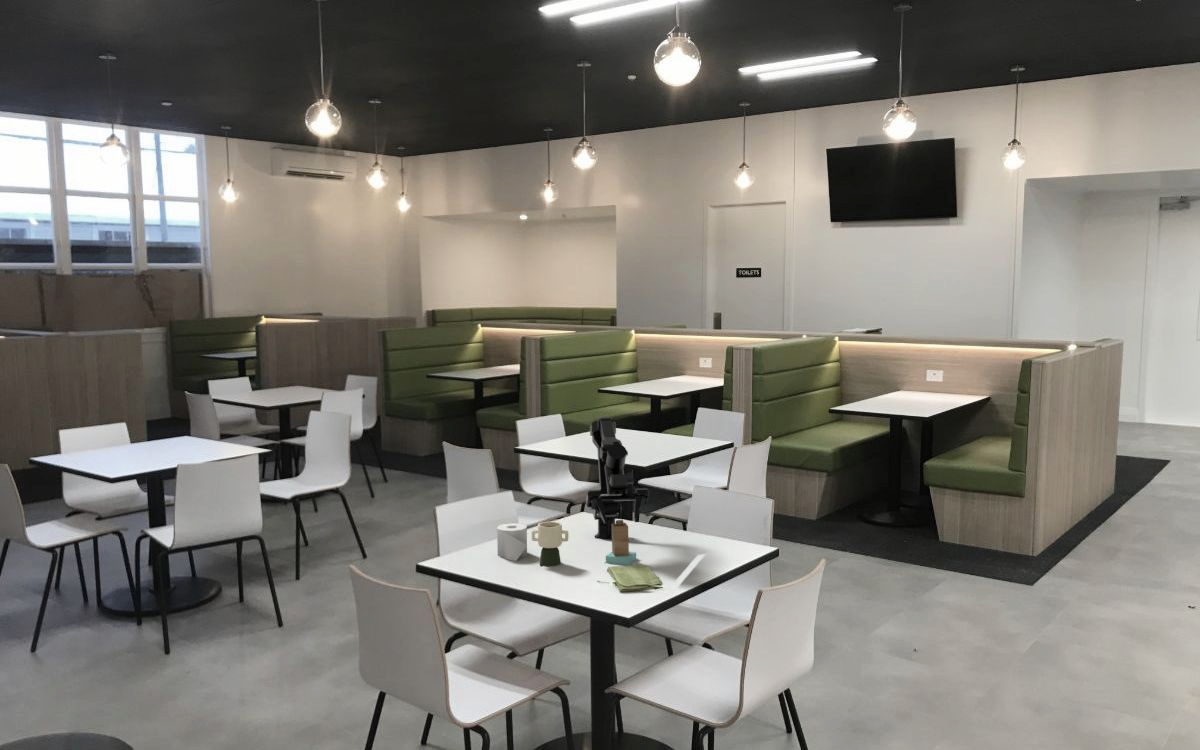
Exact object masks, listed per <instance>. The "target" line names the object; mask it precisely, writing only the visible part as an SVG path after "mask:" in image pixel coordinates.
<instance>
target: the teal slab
mask: <svg viewBox="0 0 1200 750" xmlns="http://www.w3.org/2000/svg"><path fill="white" fill-rule="evenodd" d="M636 558H637V552H636V551H630V550H629V555H628V556H614V554H613V553H612V551H610V552H608V554H606V556H605V562H606V563H605V564H607V563H614V564H613V565H617V564H623V565H622V566H627V565H629V564H630V563H631V562H633V561H634V560H635V559H636ZM633 563H634V562H633Z"/></svg>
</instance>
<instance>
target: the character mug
mask: <svg viewBox="0 0 1200 750" xmlns="http://www.w3.org/2000/svg"><path fill="white" fill-rule="evenodd" d="M536 534H537V537H536ZM563 534H564V537H563ZM531 540H532V542H537V543H538V546H539V547H540V548H541V551H540V557H539V566H540V567H541V568H543V567H557V566H560V565H561V563H562V561H561V556H560V549H559V547H561V546H562V544H563V542H564V543H565V542H568V541H569V530H563V524H562V523H561V522H558V521H544V522H540V523H538V524H537V529H533V530H531Z"/></svg>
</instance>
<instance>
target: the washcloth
mask: <svg viewBox="0 0 1200 750" xmlns="http://www.w3.org/2000/svg"><path fill="white" fill-rule="evenodd" d="M606 572H607V573H608V574H609V575H610V577H611V579H612V580H613V582H612V584H614V585H615V587H617V589H618V591H619V592H621V593H624V592H626V593H627V592H632V591H644V590H650V589H662V588H664V587H663V586H662V584H663V582H662V579H660V578H661V577H659V576H658V575H657V574H656V573H655V572H654V571H653V570H652V569H651V568H650V567H648V565H645V564H644V565H642V564H641V565H638V564H637V565H633V564H631V565H630V566H627V565H618V566H616V565H613V566H611V565H610V566H608V567H607V568H606ZM657 585H660V586H657Z"/></svg>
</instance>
